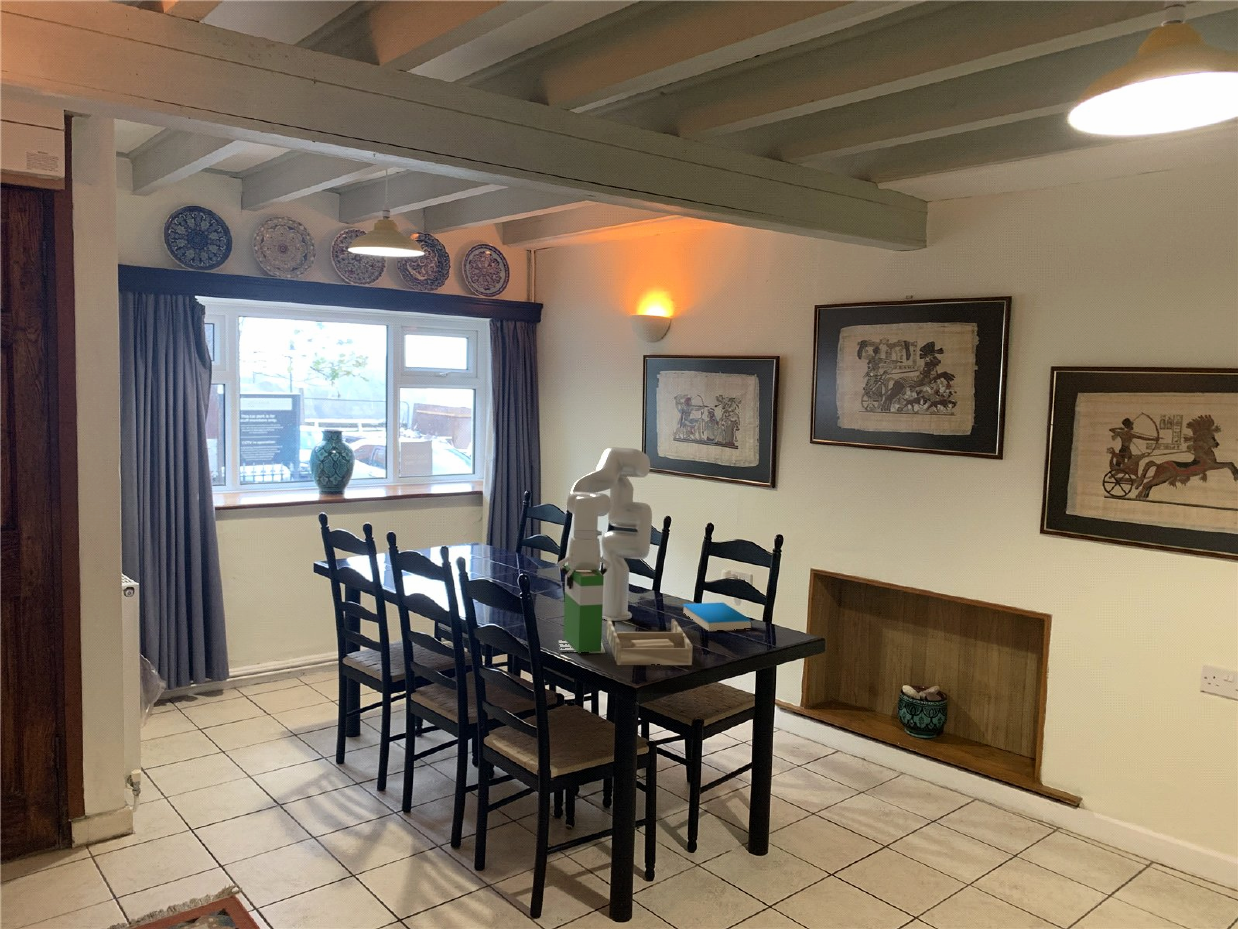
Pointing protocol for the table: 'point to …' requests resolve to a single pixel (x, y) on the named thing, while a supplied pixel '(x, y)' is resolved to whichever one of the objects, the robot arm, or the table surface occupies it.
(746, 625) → the book
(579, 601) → the hardback book
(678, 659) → the rack
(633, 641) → the oak offcut
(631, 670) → the table surface
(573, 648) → the mat
